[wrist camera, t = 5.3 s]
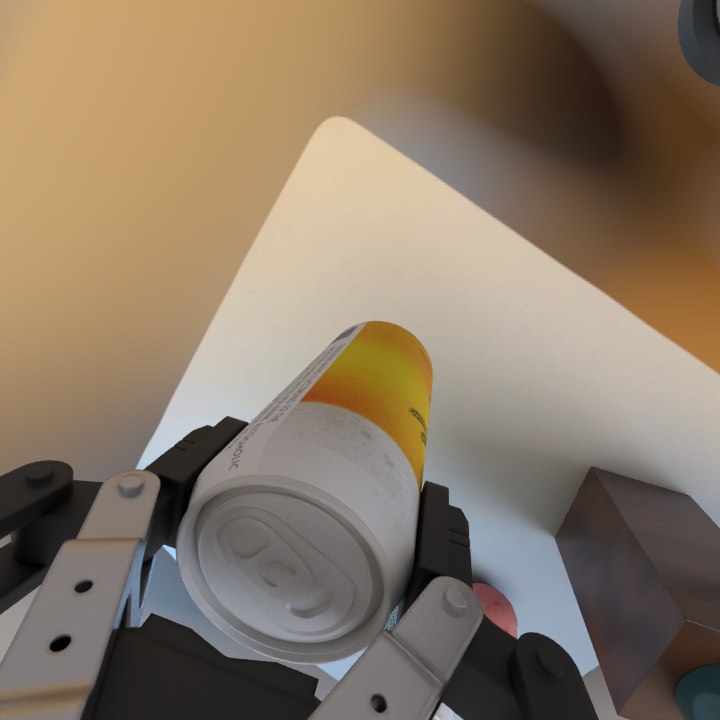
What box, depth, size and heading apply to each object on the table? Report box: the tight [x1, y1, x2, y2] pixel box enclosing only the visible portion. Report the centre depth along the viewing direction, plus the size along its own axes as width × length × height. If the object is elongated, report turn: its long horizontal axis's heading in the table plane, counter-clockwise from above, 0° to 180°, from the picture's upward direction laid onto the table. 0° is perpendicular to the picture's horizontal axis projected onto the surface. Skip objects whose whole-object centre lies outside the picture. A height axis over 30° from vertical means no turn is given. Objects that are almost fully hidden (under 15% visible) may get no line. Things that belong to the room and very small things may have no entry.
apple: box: [473, 583, 517, 639], centre depth 46 cm, size 7×7×8 cm
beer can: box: [176, 321, 433, 665], centre depth 16 cm, size 6×6×15 cm
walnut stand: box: [555, 467, 720, 720], centre depth 35 cm, size 10×10×18 cm
